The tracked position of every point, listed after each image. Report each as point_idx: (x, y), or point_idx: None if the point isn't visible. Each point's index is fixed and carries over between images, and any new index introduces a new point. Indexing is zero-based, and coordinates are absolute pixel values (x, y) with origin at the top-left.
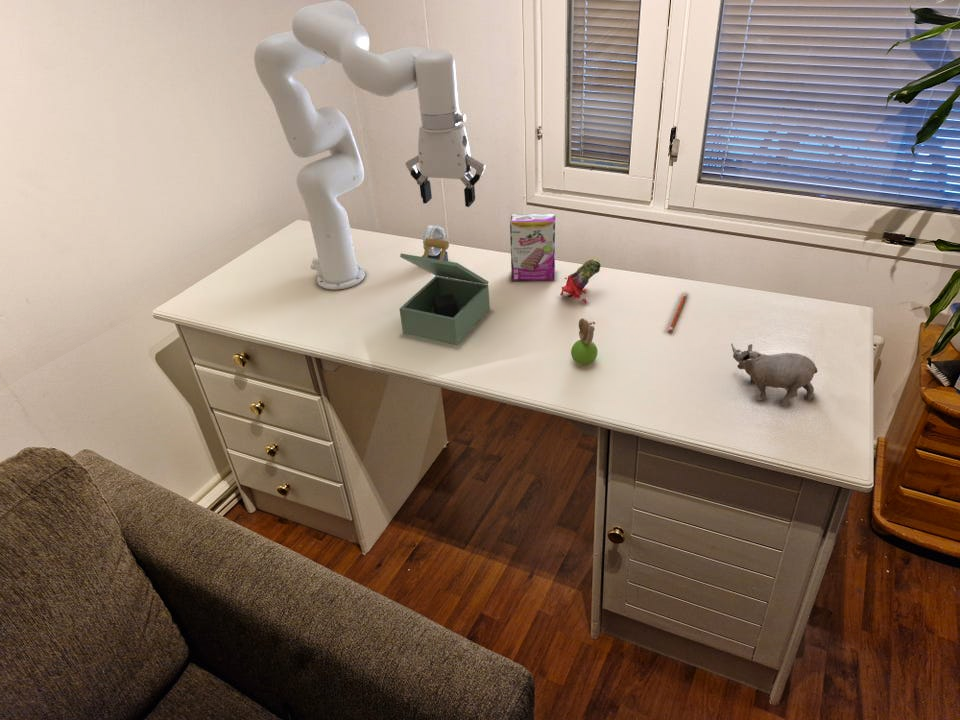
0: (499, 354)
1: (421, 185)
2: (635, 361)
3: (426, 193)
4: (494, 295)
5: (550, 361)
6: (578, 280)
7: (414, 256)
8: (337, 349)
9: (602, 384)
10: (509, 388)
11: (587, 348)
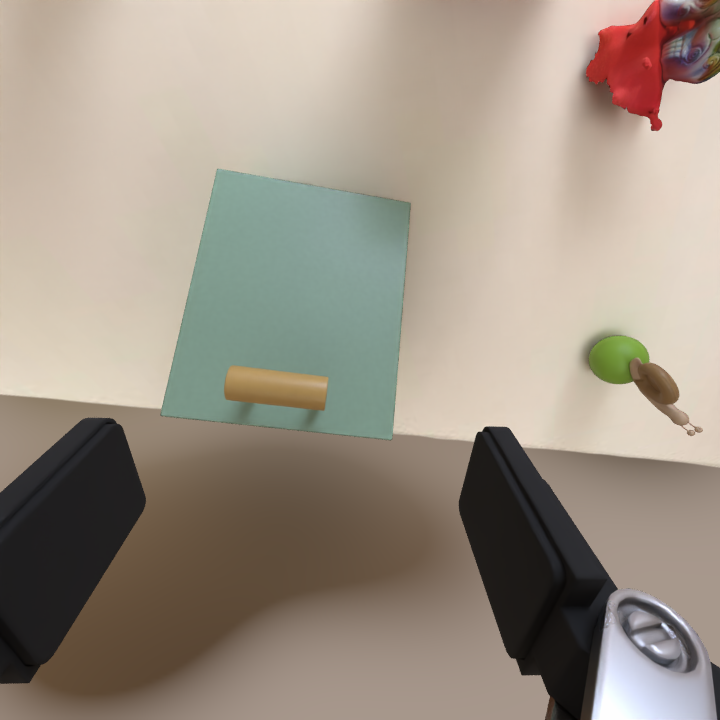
0: (449, 355)
1: (1, 681)
2: (695, 326)
3: (95, 555)
4: (386, 98)
5: (542, 356)
6: (687, 70)
7: (222, 422)
8: (151, 400)
9: (622, 394)
10: (478, 430)
11: (633, 380)
